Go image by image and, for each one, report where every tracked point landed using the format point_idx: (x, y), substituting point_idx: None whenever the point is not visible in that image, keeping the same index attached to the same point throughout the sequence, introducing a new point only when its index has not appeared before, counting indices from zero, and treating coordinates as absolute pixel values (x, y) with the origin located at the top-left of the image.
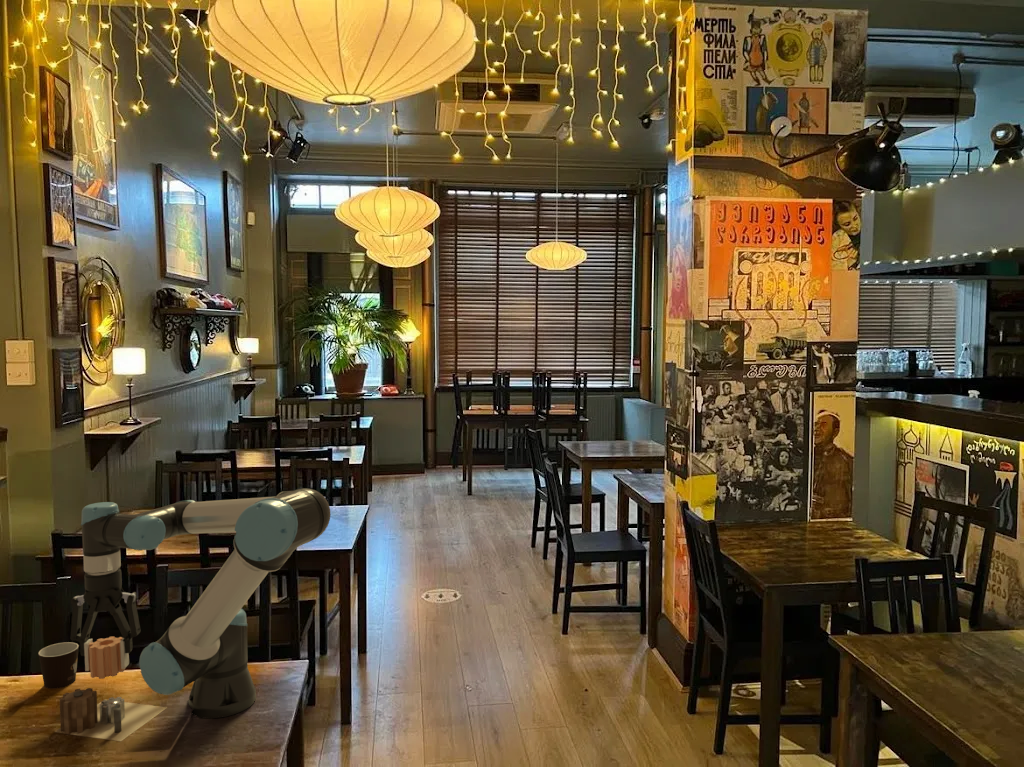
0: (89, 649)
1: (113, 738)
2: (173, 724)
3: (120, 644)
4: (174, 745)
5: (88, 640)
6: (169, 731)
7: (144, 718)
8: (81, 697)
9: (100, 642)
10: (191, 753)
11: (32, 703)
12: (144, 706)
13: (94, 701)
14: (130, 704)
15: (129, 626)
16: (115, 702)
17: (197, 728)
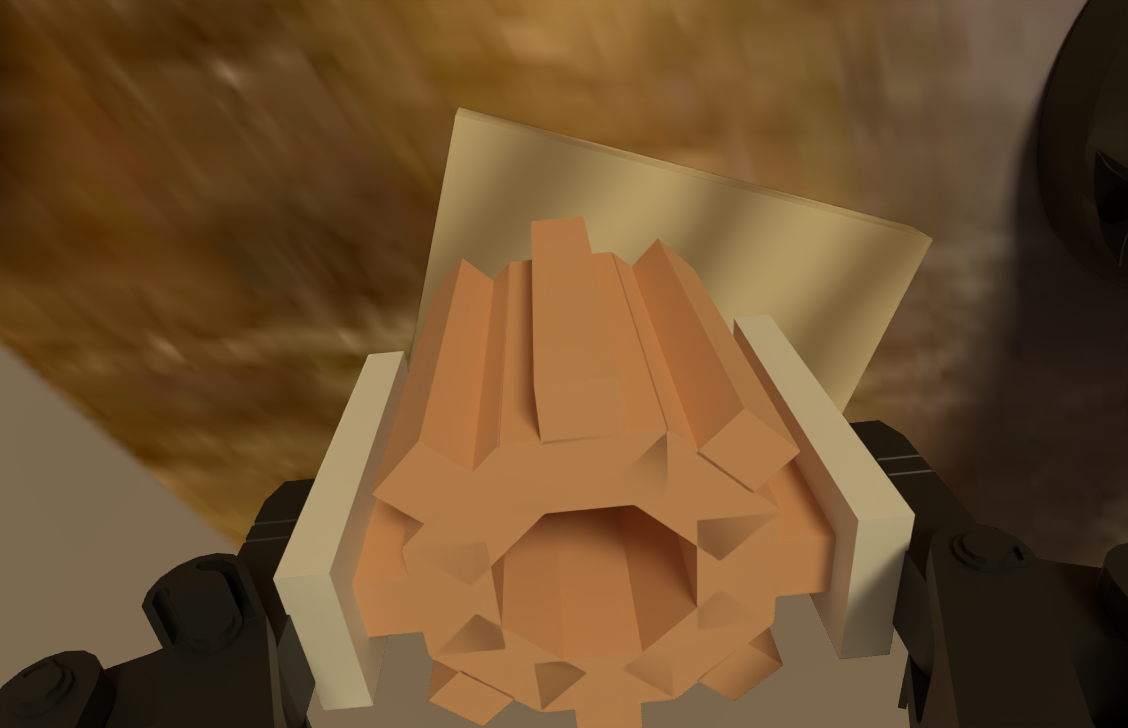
0: (437, 674)
1: None
2: (962, 340)
3: (826, 620)
4: (990, 507)
5: (312, 630)
6: (951, 403)
7: (823, 366)
8: None
9: (490, 561)
10: (1066, 555)
11: None
12: (782, 225)
13: None
14: (677, 194)
15: (1075, 675)
16: None
17: (1089, 377)
